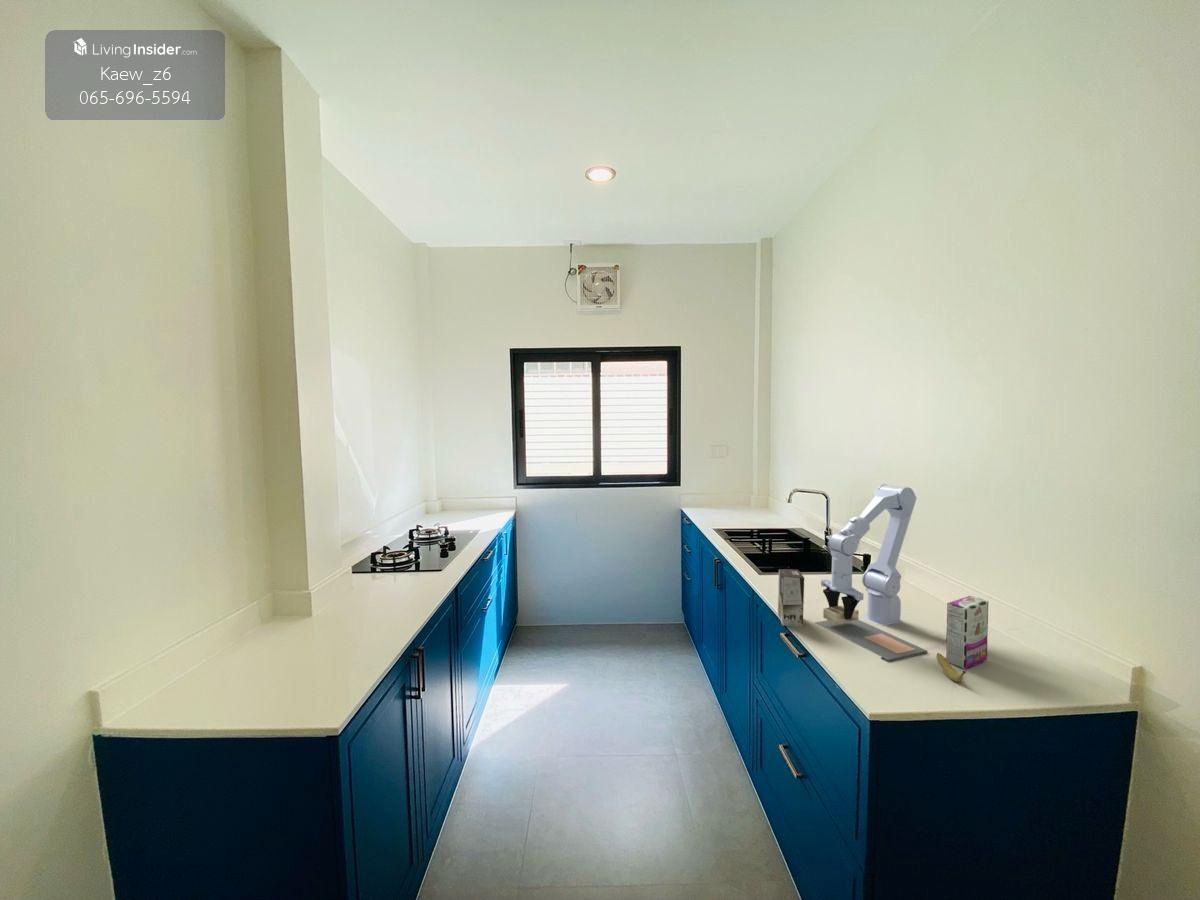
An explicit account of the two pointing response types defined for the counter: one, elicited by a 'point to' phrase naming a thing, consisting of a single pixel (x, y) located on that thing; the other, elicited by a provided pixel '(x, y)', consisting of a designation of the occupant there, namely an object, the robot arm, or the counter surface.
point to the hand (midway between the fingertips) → (840, 615)
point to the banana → (949, 669)
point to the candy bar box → (967, 632)
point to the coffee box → (791, 597)
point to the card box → (838, 614)
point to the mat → (874, 639)
